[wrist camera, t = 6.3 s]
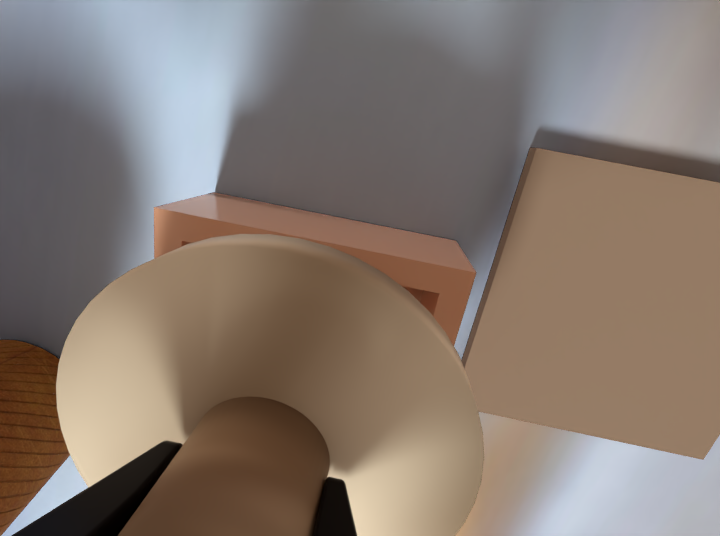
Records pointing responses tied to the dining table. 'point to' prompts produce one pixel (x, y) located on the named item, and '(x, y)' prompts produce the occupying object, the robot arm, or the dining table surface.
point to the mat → (604, 306)
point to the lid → (272, 393)
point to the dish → (331, 245)
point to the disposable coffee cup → (27, 426)
